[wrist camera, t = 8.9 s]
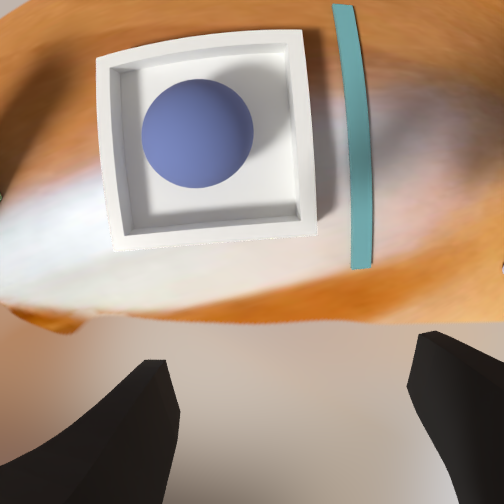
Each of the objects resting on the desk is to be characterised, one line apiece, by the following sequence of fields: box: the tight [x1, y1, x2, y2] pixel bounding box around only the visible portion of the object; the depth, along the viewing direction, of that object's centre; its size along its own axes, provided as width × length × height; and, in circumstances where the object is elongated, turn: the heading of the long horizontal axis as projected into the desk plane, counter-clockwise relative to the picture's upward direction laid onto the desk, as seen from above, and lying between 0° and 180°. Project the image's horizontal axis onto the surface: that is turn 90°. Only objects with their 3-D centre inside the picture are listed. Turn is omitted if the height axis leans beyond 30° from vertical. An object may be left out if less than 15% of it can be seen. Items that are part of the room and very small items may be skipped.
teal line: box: [332, 4, 372, 270], centre depth 16 cm, size 16×1×1 cm, turn 4°
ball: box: [141, 79, 254, 188], centre depth 13 cm, size 5×5×5 cm
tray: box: [96, 30, 317, 252], centre depth 15 cm, size 11×11×2 cm
